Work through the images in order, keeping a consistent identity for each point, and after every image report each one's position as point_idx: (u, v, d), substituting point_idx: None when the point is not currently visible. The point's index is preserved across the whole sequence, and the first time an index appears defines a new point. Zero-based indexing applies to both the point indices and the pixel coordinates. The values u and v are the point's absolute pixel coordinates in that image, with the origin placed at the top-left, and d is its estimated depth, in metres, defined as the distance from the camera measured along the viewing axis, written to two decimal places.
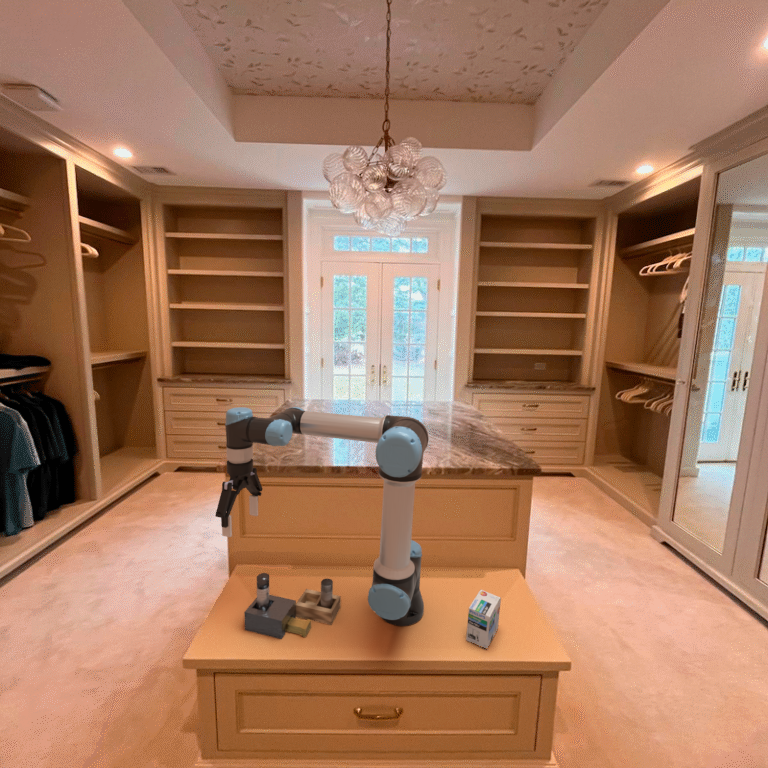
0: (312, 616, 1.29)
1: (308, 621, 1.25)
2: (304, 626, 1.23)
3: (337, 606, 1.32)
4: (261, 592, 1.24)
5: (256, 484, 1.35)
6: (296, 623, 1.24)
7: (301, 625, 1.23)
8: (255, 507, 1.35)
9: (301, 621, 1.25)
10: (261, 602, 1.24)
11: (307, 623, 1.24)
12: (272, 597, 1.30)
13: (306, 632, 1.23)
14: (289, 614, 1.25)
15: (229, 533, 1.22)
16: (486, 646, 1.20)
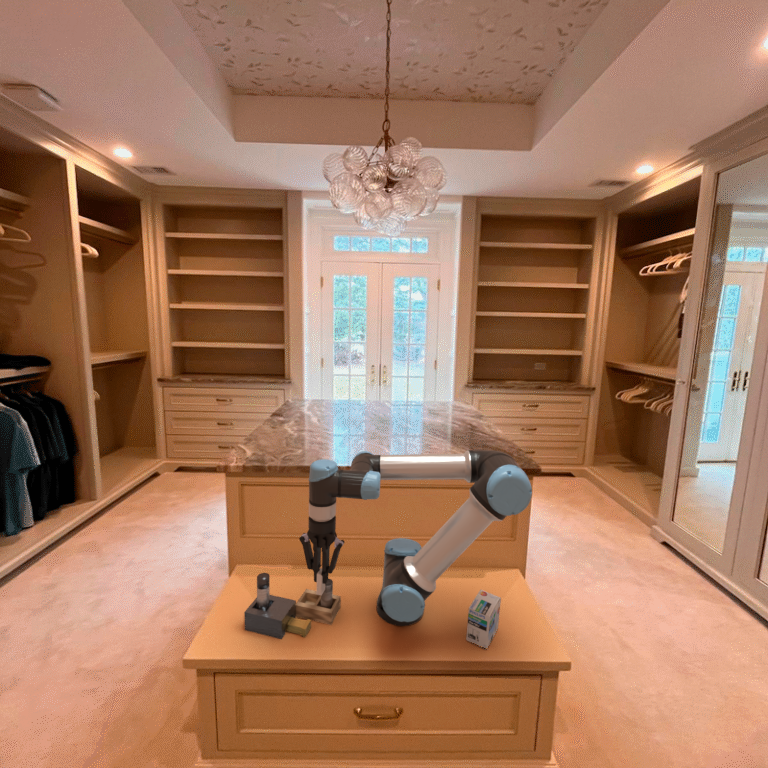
0: (312, 616, 1.29)
1: (308, 621, 1.25)
2: (304, 626, 1.23)
3: (337, 606, 1.32)
4: (261, 592, 1.24)
5: (331, 560, 1.17)
6: (296, 623, 1.24)
7: (301, 625, 1.23)
8: None
9: (301, 621, 1.25)
10: (261, 602, 1.24)
11: (307, 623, 1.24)
12: (272, 597, 1.30)
13: (306, 632, 1.23)
14: (289, 614, 1.25)
15: (317, 590, 1.20)
16: (486, 646, 1.20)
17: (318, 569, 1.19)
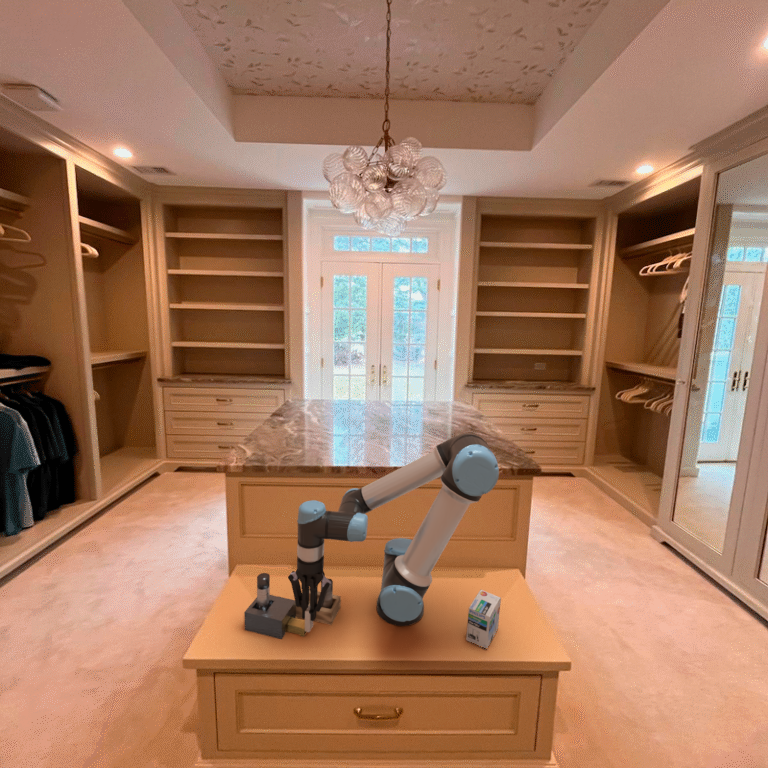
0: None
1: None
2: (303, 626, 1.23)
3: (337, 606, 1.32)
4: (261, 593, 1.24)
5: (319, 598, 1.20)
6: (294, 623, 1.24)
7: (300, 625, 1.23)
8: None
9: (300, 621, 1.25)
10: (261, 602, 1.24)
11: None
12: (272, 597, 1.30)
13: (305, 632, 1.23)
14: (289, 614, 1.25)
15: None
16: (486, 646, 1.20)
17: (306, 607, 1.22)
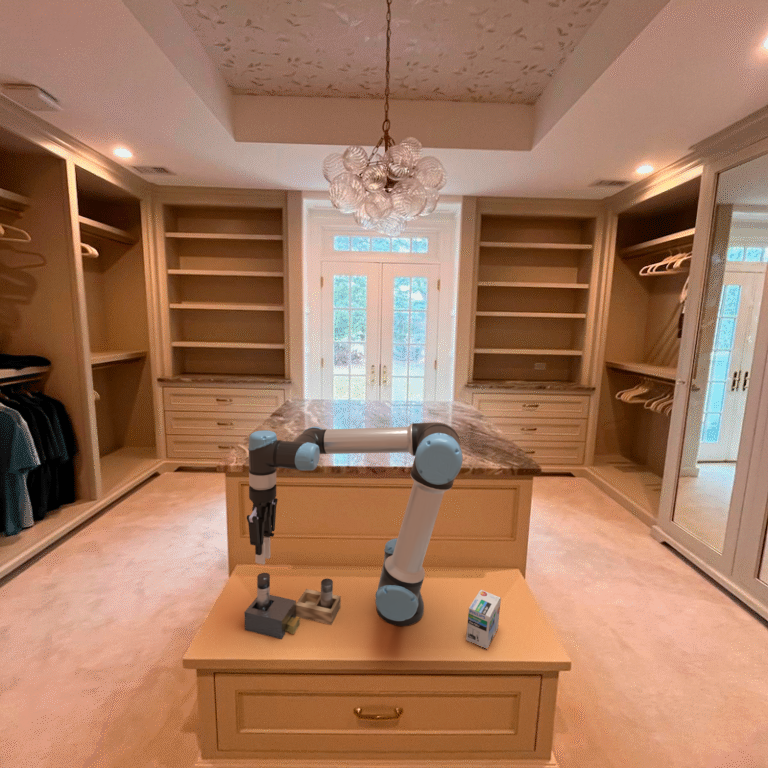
0: (312, 616, 1.29)
1: (297, 618, 1.26)
2: (292, 623, 1.24)
3: (337, 606, 1.32)
4: (261, 592, 1.24)
5: (271, 519, 1.26)
6: None
7: (289, 622, 1.24)
8: (267, 549, 1.24)
9: (290, 618, 1.26)
10: (261, 602, 1.24)
11: (296, 620, 1.25)
12: (272, 597, 1.30)
13: (294, 629, 1.24)
14: (289, 614, 1.25)
15: (263, 560, 1.22)
16: (486, 646, 1.20)
17: None
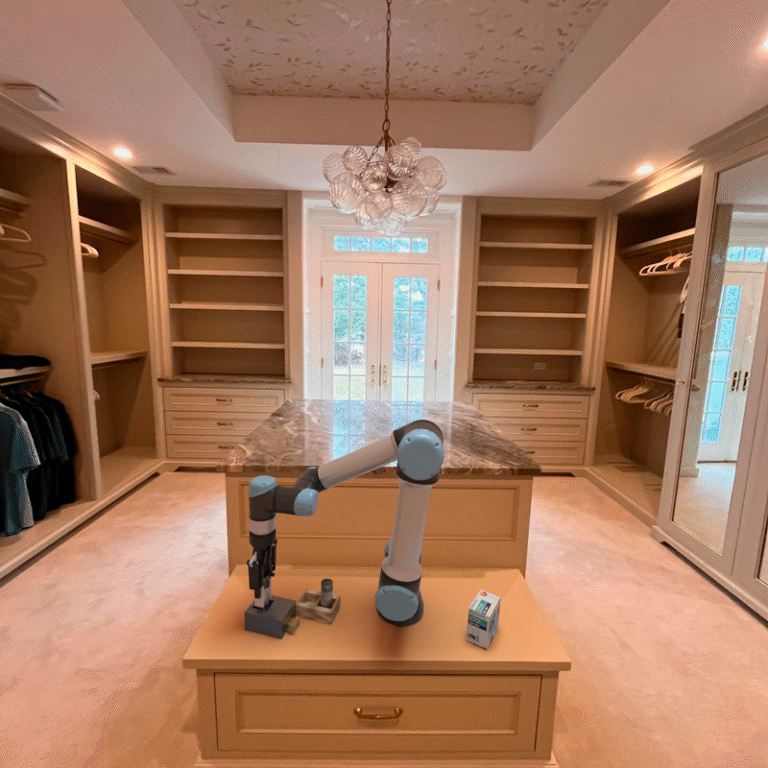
0: (312, 616, 1.29)
1: (297, 618, 1.26)
2: (292, 623, 1.24)
3: (337, 606, 1.32)
4: None
5: (272, 560, 1.29)
6: None
7: (289, 622, 1.24)
8: None
9: (290, 618, 1.26)
10: None
11: (296, 620, 1.25)
12: (272, 597, 1.30)
13: (294, 629, 1.24)
14: (289, 614, 1.25)
15: (262, 603, 1.24)
16: (486, 646, 1.20)
17: None
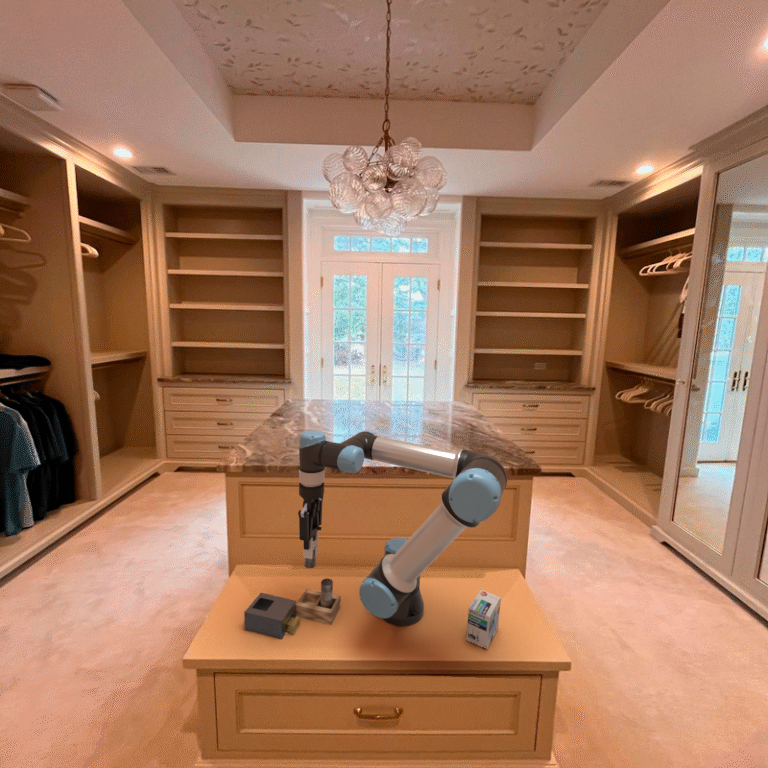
0: (312, 616, 1.29)
1: (297, 618, 1.26)
2: (292, 623, 1.24)
3: (337, 606, 1.32)
4: None
5: (318, 514, 1.32)
6: None
7: (289, 622, 1.24)
8: None
9: (290, 618, 1.26)
10: None
11: (296, 620, 1.25)
12: (272, 597, 1.30)
13: (294, 629, 1.24)
14: (289, 614, 1.25)
15: (310, 555, 1.27)
16: (486, 646, 1.20)
17: None
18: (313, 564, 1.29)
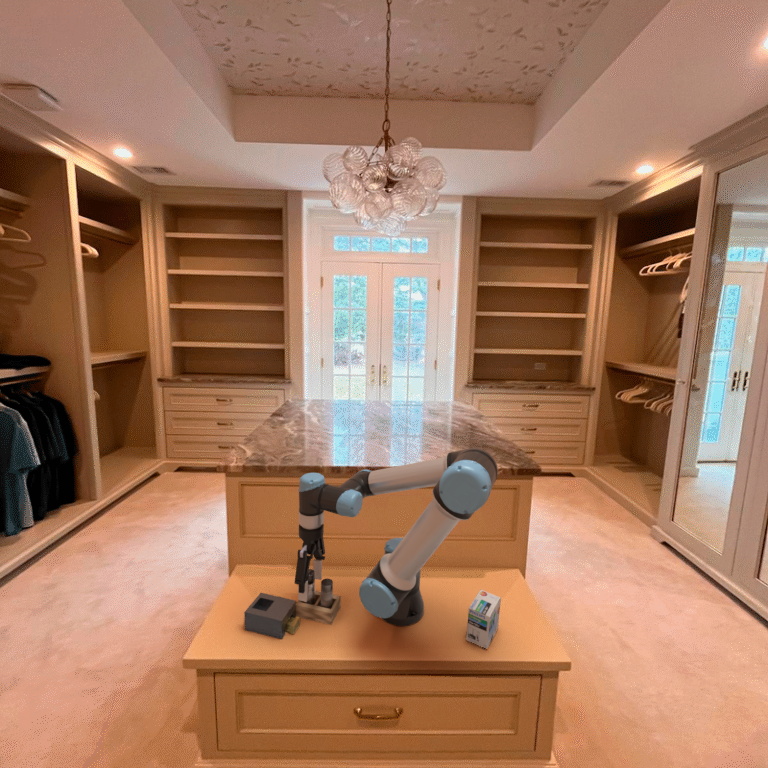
0: (312, 616, 1.29)
1: (297, 618, 1.26)
2: (292, 623, 1.24)
3: (337, 606, 1.32)
4: None
5: (321, 547, 1.37)
6: None
7: (289, 622, 1.24)
8: (319, 571, 1.36)
9: (290, 618, 1.26)
10: (308, 597, 1.31)
11: (296, 620, 1.25)
12: (272, 597, 1.30)
13: (294, 629, 1.24)
14: (289, 614, 1.25)
15: (305, 598, 1.26)
16: (486, 646, 1.20)
17: None
18: None
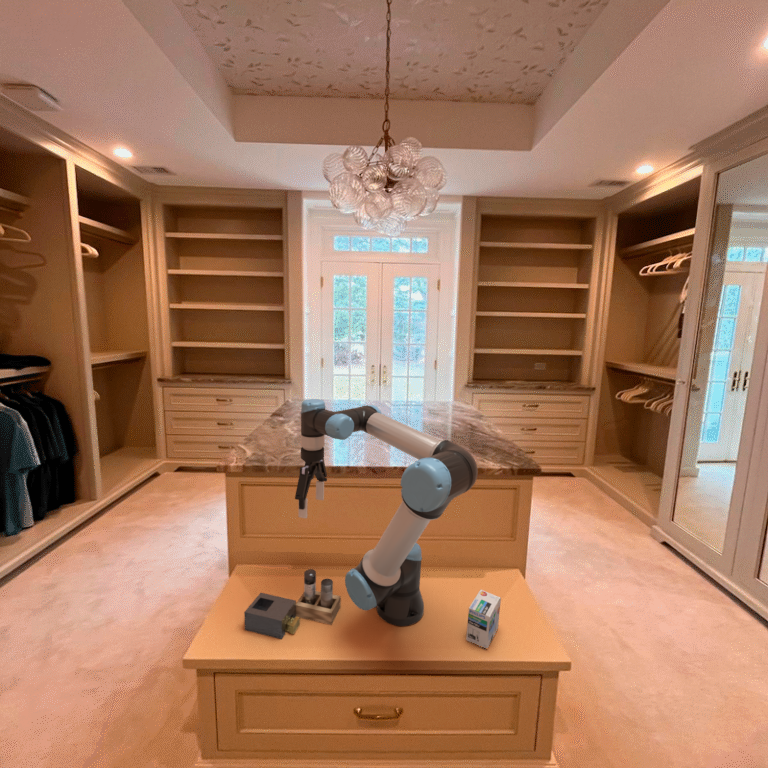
0: (312, 616, 1.29)
1: (297, 618, 1.26)
2: (292, 623, 1.24)
3: (337, 606, 1.32)
4: (308, 588, 1.30)
5: (322, 470, 1.46)
6: None
7: (289, 622, 1.24)
8: (321, 492, 1.46)
9: (290, 618, 1.26)
10: (309, 597, 1.31)
11: (296, 620, 1.25)
12: (272, 597, 1.30)
13: (294, 629, 1.24)
14: (289, 614, 1.25)
15: (305, 514, 1.33)
16: (486, 646, 1.20)
17: None
18: None
